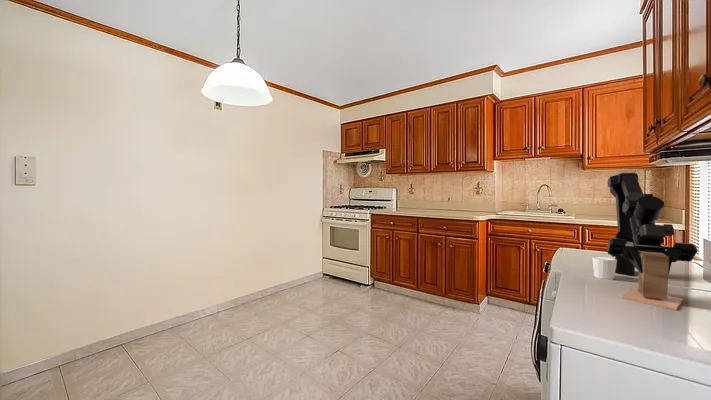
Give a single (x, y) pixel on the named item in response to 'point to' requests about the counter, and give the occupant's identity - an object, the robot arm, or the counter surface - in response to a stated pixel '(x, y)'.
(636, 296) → the terracotta tile
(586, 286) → the counter surface
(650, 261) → the walnut block
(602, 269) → the white cup
